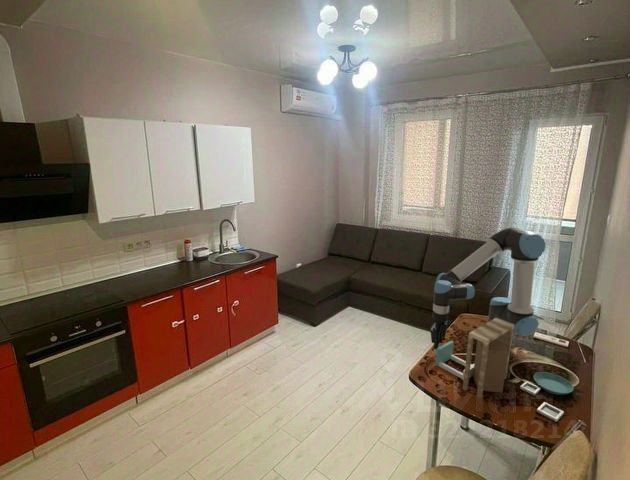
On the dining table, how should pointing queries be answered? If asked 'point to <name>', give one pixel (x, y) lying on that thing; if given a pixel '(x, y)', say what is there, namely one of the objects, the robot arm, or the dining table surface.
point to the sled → (446, 353)
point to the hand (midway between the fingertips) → (436, 354)
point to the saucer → (553, 383)
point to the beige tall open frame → (486, 334)
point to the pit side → (530, 388)
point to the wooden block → (491, 366)
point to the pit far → (550, 411)
